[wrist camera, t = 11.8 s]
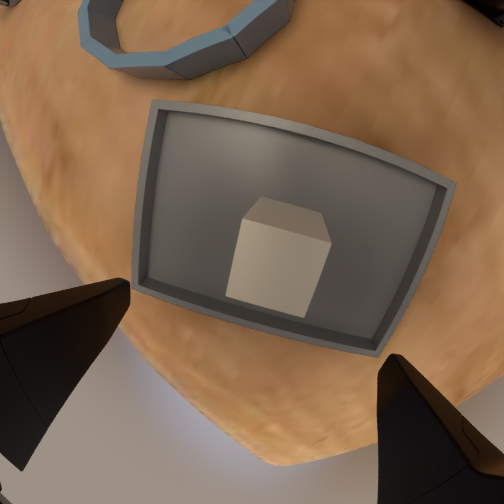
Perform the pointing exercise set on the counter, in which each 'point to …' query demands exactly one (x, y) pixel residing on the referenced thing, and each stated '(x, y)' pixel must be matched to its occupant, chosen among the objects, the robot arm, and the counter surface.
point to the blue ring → (187, 53)
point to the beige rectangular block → (279, 256)
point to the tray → (292, 192)
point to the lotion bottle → (9, 2)
